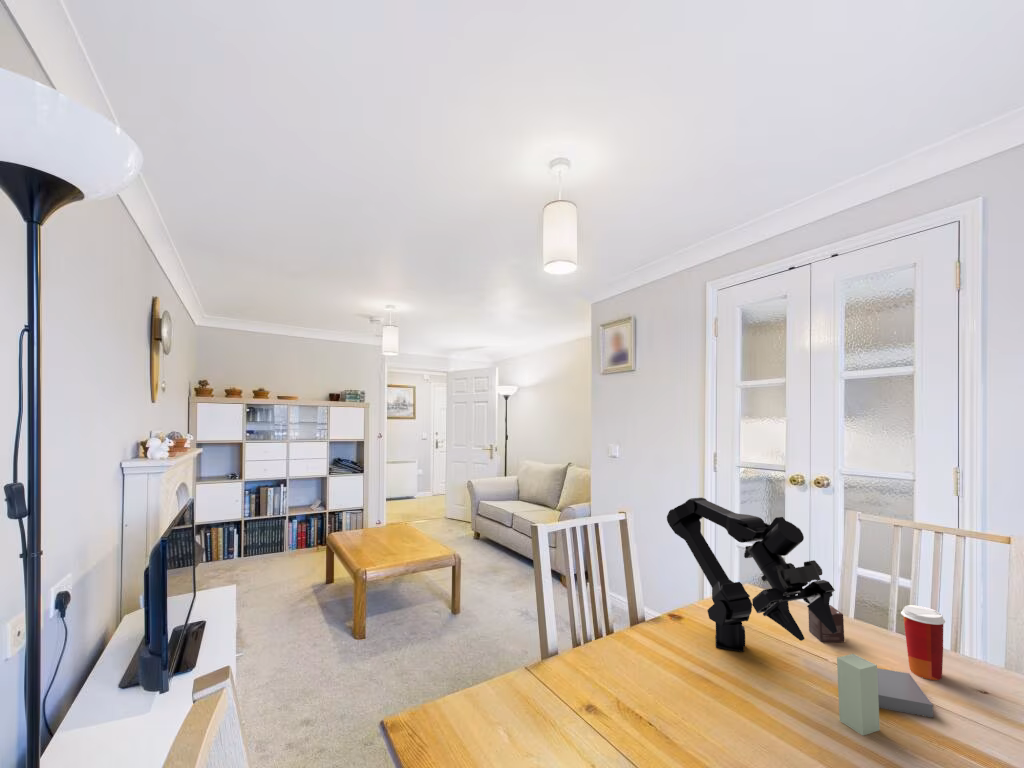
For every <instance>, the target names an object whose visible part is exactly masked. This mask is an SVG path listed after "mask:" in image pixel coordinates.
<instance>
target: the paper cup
mask: <svg viewBox="0 0 1024 768" xmlns="http://www.w3.org/2000/svg"><path fill="white" fill-rule="evenodd" d="M900 615H901V616H903V624H904V632H905V634H904V635H905V643H906V649H907V651H906V652H907V658H908V659H907V660H908V666H909V667H908V668H909V670H911V671H910V672H911V673H912V674H913V675H915V676H918V677H919V678H922V677H923V678H922V679H925V680H929V679H930V681H941V680H942V678H943V666H944V665H943V660H944V659H943V658H944V624H945V623H946V620H945V619H944V616H943V615H942V614H941V613H940V612H939V611H937V610H935V609H933V608H929V607H927V606H926V607H925V606H921V605H914V604H913V605H909V604H908V605H905V606H904V607H903V608H902V611H901V612H900Z"/></svg>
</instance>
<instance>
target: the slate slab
mask: <svg viewBox="0 0 1024 768" xmlns="http://www.w3.org/2000/svg"><path fill="white" fill-rule="evenodd" d="M877 679H878V701H879V709H885V710H890V711H895V712H901V713H906V714H910V715H915V714H917V716H920V715H922V717H926V716H928V717H927V718H931V717H933V718H934V707H933V706H934V705H933V703H932V702H931V701H930V699H929V698H928V696H927V695H926V694H925V693H924V691H923V690H922V688H921V687H920V686H919V684H918V683H917V681H915V679H914V678H913V676H912V675H911V674H910V673H909V672H902V671H895V670H893V669H891V670H890V669H885V668H884V669H883V668H879V667H877ZM923 715H924V716H923Z"/></svg>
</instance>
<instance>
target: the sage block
mask: <svg viewBox="0 0 1024 768" xmlns="http://www.w3.org/2000/svg"><path fill="white" fill-rule="evenodd" d="M836 663H837V664H836V666H837V670H836V672H837V690H838V691H837V692H838V696H837V697H838V717H839V722H840V723H842V724H844V725H846V726H847V727H849V728H850V729H852V730H853V731H854V732H856V733H858V734H859V735H861V736H867V735H869V734H872V733H876V732H879V731H881V729H880V728H881V727H880V708H879V701H878V679H877V668H878V666H877V664H875V663H873V662H871V661H869V660H867V659H866V658H863V657H861V656H859V655H857V654H854V653H851V654H847V655H843V656H837V657H836Z"/></svg>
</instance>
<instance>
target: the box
mask: <svg viewBox="0 0 1024 768" xmlns="http://www.w3.org/2000/svg"><path fill="white" fill-rule="evenodd" d="M829 605H830V610H831V613H832V616H833V619H834V622H835V626H836V629H837V632H836V633H835V634H833V633H832V632H831V631H830V630H829V629H828V628H827V627H826V626H825V625H824V624H823V623H822V622H821V621H820V620H819V619H818V618H817V617H816V616H815V614H814V613H813V612H812V611H811V610H810V609H809V608H808V607H807V609H808V611H807V612H808V631H809V633H810V634H811V635H813V636H814V637H815V638H816V639H817V640H818V641H819V642H821V643H827V642H828V643H833V642H834V643H845V627H844V623H845V622H844V614H843V613H842V612H841V611H839V610H838V609H837V608H835V607H834V606H832V605H831V604H829Z"/></svg>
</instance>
